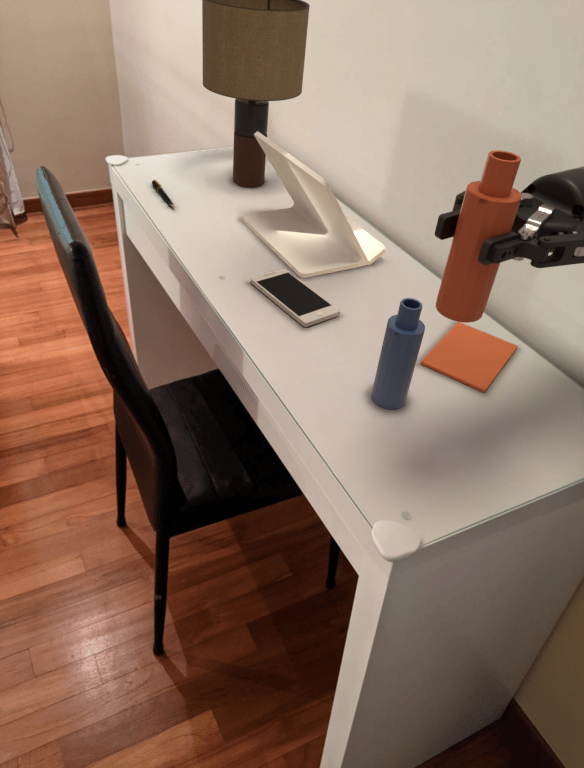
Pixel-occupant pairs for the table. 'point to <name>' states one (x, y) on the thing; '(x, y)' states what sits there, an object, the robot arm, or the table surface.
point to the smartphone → (295, 297)
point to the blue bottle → (398, 355)
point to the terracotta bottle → (479, 238)
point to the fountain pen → (162, 192)
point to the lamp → (253, 68)
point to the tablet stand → (310, 222)
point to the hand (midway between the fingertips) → (461, 240)
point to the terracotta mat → (469, 356)
